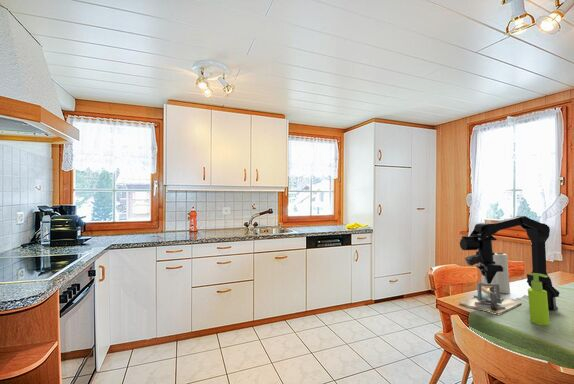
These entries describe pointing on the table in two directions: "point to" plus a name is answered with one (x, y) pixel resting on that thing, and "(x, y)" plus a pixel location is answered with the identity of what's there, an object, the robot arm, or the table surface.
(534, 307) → the soap dispenser
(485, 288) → the wooden crank handle
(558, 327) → the table surface
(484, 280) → the grey boxy piece
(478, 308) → the beige rectangular panel
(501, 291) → the paper towel roll
